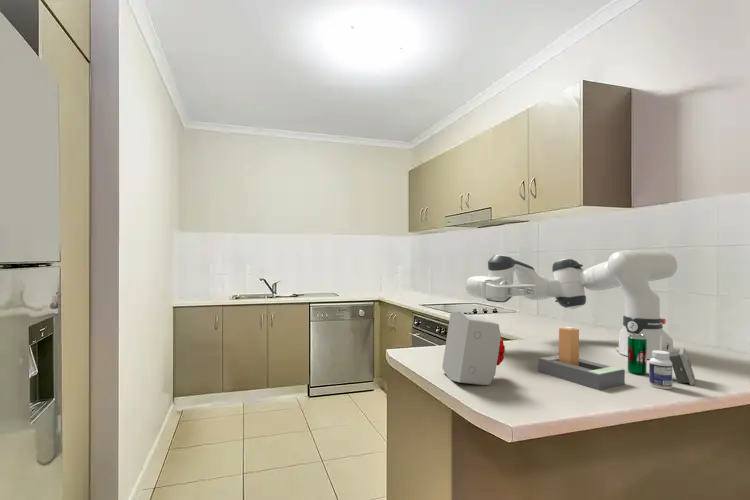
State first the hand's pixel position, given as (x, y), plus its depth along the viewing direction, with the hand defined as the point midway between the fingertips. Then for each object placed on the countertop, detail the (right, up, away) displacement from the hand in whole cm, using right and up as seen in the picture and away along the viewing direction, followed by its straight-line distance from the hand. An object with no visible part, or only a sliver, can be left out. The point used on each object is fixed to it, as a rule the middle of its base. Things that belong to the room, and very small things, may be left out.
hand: (529, 292), depth 143 cm
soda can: (+30, -25, -11) cm, 40 cm away
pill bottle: (+28, -24, -25) cm, 45 cm away
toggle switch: (+9, -24, -17) cm, 31 cm away
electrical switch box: (-23, -24, -20) cm, 38 cm away
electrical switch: (+38, -25, -19) cm, 49 cm away
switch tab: (+7, -23, -14) cm, 28 cm away
